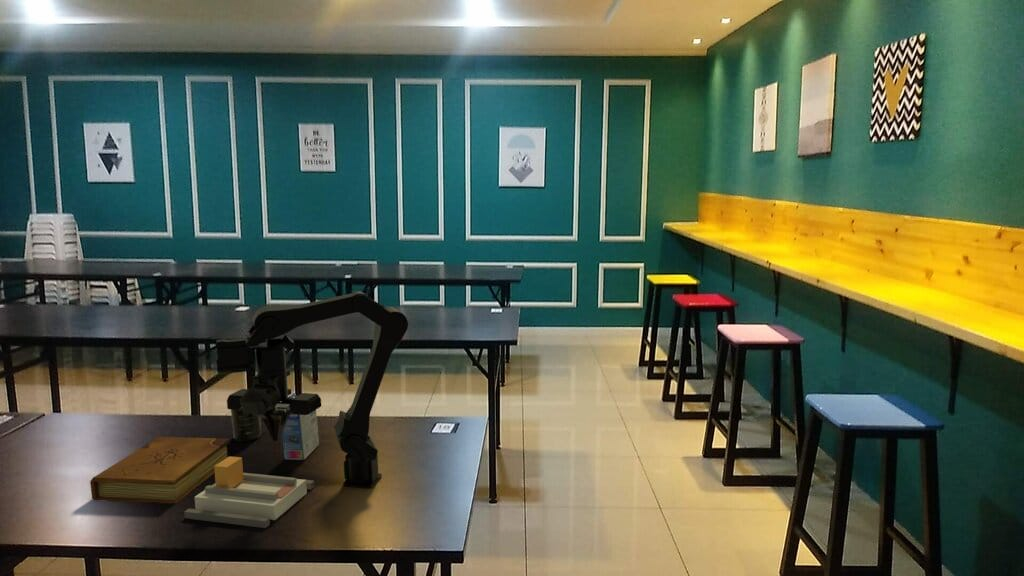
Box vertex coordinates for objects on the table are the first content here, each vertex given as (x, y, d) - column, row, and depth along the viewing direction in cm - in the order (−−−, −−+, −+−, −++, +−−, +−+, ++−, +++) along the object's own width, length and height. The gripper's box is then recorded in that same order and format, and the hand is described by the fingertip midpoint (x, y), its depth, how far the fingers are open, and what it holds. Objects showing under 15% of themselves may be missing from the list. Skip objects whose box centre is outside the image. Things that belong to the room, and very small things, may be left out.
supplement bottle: (232, 435, 184) (228, 390, 182) (260, 430, 187) (256, 387, 185) (234, 444, 178) (230, 398, 176) (262, 439, 181) (259, 394, 179)
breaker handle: (243, 480, 149) (241, 457, 148) (228, 490, 144) (226, 467, 143) (231, 478, 150) (229, 456, 149) (216, 489, 145) (214, 465, 144)
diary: (157, 459, 171) (155, 436, 170) (231, 461, 169) (229, 438, 168) (92, 502, 148) (89, 476, 147) (176, 505, 146) (174, 479, 145)
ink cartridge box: (298, 444, 177) (294, 388, 175) (319, 444, 177) (316, 389, 174) (282, 460, 168) (277, 401, 165) (304, 460, 167) (300, 401, 165)
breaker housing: (306, 493, 150) (305, 474, 149) (275, 520, 138) (273, 500, 138) (232, 485, 154) (231, 467, 153) (195, 510, 143) (194, 491, 142)
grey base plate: (314, 486, 153) (314, 480, 153) (265, 528, 135) (265, 521, 135) (241, 479, 157) (241, 473, 157) (184, 518, 140) (184, 511, 139)
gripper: (206, 376, 139) (212, 452, 142) (291, 382, 135) (296, 460, 137) (240, 362, 150) (246, 432, 152) (320, 366, 145) (324, 439, 148)
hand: (276, 441), depth 147 cm, fingers closed
